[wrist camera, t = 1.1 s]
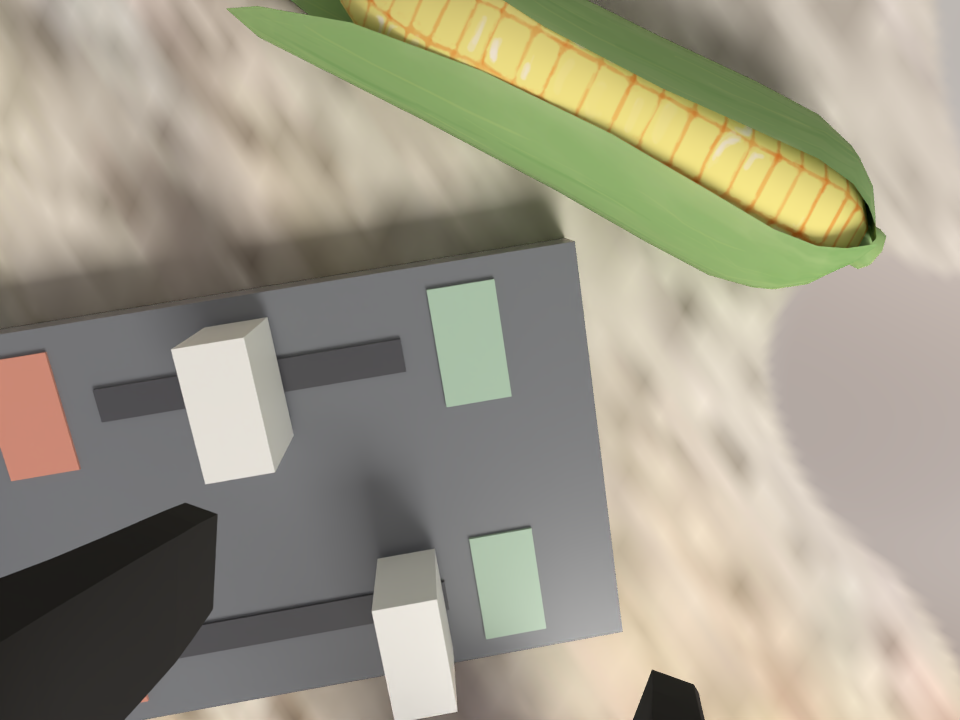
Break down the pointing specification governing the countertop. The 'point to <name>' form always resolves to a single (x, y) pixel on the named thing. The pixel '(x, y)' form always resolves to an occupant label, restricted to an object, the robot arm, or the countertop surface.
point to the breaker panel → (336, 464)
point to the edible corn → (610, 124)
